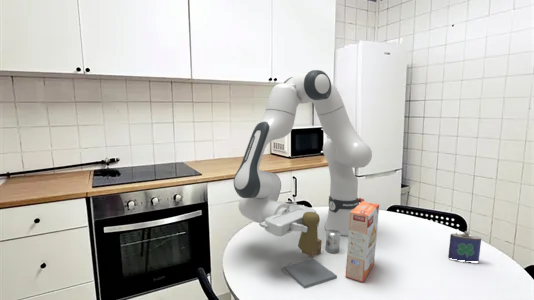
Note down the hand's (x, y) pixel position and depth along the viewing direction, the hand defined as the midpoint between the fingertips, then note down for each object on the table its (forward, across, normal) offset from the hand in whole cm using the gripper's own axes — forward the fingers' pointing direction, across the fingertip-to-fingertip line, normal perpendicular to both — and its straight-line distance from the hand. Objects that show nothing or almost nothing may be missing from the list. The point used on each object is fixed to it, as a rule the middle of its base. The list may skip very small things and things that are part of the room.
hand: (312, 227), depth 92 cm
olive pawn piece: (-1, 0, +7) cm, 7 cm away
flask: (+33, +44, +15) cm, 57 cm away
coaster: (-1, 0, +15) cm, 15 cm away
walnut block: (-8, +12, +15) cm, 21 cm away
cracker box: (+10, +13, +15) cm, 23 cm away
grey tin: (-3, +19, +15) cm, 25 cm away
